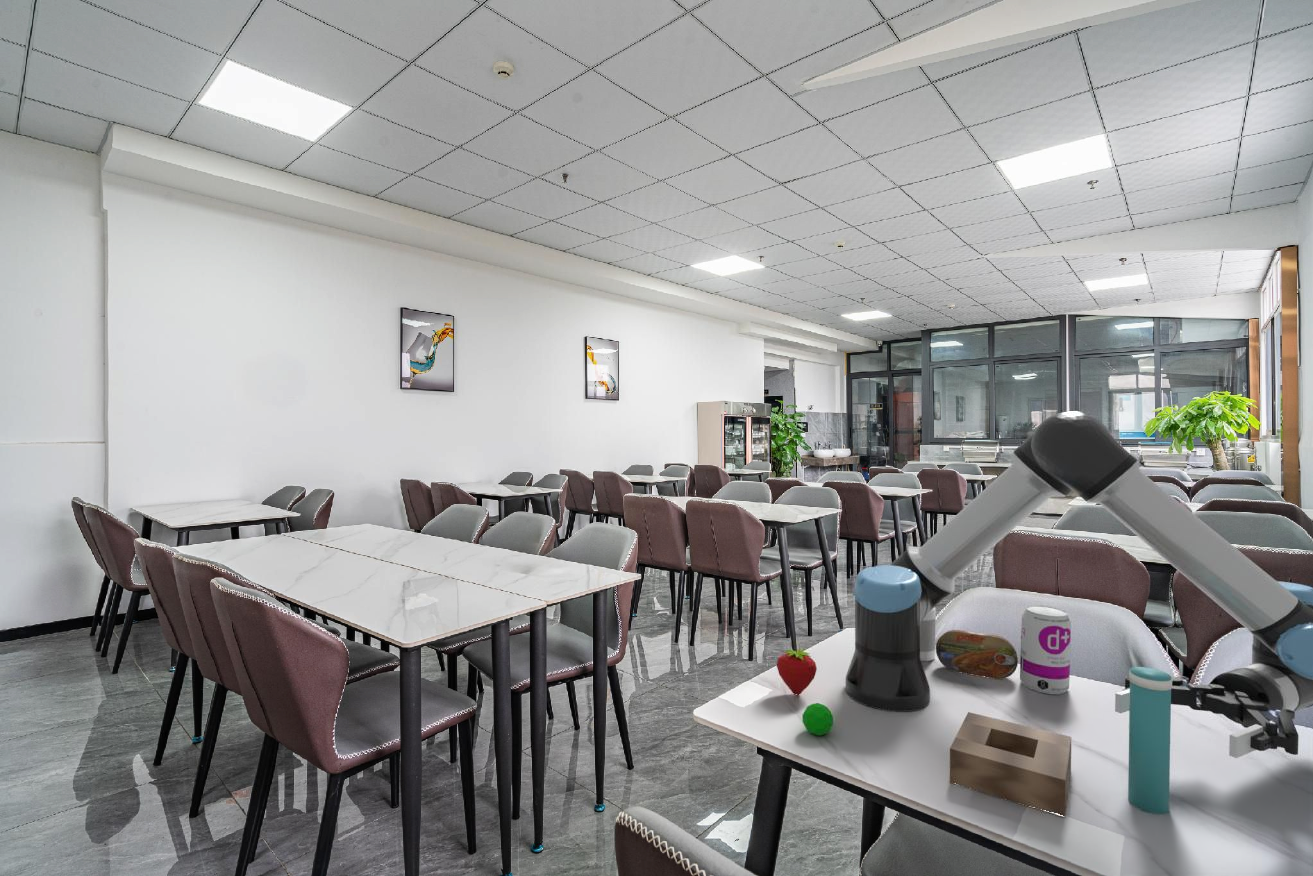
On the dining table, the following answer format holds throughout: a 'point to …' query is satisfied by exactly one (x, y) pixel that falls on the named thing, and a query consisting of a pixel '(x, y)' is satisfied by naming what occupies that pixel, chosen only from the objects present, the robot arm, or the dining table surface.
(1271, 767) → the dining table surface
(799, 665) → the strawberry
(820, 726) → the polyhedron
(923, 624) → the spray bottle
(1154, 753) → the peg
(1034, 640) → the supplement can
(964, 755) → the socket block
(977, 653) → the tin
